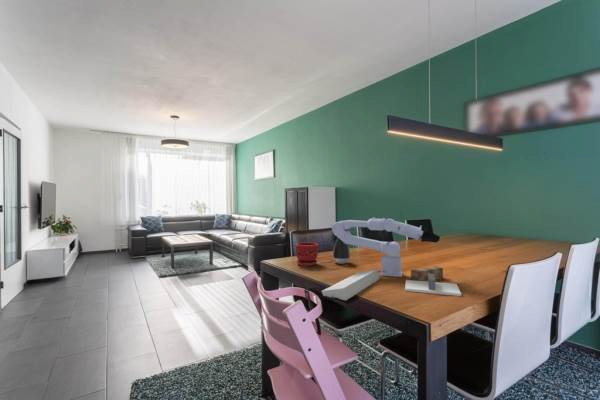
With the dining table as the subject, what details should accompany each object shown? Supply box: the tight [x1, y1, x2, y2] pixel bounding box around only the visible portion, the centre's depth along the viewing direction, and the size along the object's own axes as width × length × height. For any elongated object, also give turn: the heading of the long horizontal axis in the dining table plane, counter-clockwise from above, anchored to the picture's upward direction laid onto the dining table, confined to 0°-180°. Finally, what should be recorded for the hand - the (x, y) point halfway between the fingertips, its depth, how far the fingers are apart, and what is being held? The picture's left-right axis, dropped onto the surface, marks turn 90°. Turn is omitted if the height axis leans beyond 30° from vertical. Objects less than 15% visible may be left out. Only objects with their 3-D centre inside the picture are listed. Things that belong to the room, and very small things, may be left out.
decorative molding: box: [321, 269, 381, 301], centre depth 125 cm, size 34×5×10 cm
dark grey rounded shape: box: [332, 237, 351, 265], centre depth 171 cm, size 10×10×15 cm
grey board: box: [404, 279, 462, 297], centre depth 121 cm, size 20×13×1 cm, turn 69°
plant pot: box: [295, 242, 319, 267], centre depth 169 cm, size 13×13×12 cm
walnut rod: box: [410, 266, 444, 282], centre depth 135 cm, size 16×4×5 cm, turn 114°
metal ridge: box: [427, 273, 436, 290], centre depth 121 cm, size 2×10×4 cm, turn 159°
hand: (438, 239), depth 135 cm, fingers open, 7 cm apart
